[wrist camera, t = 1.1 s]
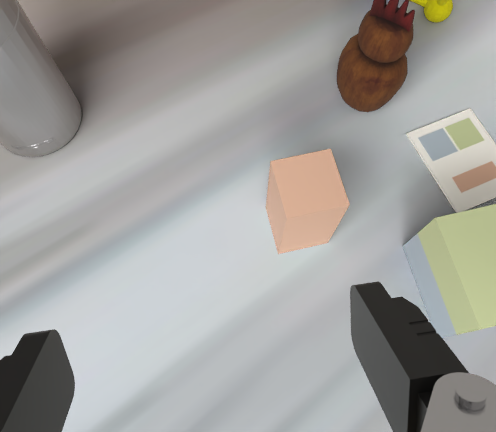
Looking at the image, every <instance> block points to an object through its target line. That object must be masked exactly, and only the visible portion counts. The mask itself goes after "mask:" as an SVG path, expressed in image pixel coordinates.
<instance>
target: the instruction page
mask: <svg viewBox="0 0 496 432" xmlns="http://www.w3.org/2000/svg"><path fill="white" fill-rule="evenodd" d="M406 135H407V136H408V138H409V140H410V141H411V143H412V144H413V146H414V147H415V149H416V151H417V152H418V154H419V155H420V157H421V159H422V160H423V162H424V163H425V165H426V166H427V168H428V170H429V171H430V173H431V174H432V176H433V177H434V179H435V181H436V182H437V184H438V185H439V187H440V189H441V190H442V192H443V193H444V195H445V196H446V198H447V200H448V201H449V203H450V204H451V206H452V207H453V209H454V211H455V212H456V213H459V212H463V211H466V210H468V209H471V208H473V207H475V206H478V205H480V204H482V203H485V202H487V201H489V200H492V199H494V198H496V144H495V142H494V141H493V139H492V138H491V137H490V135H489V134H488V132H487V131H486V130H485V128H484V127H483V125H482V124H481V122H480V121H479V120H478V118H477V117H476V115H475V114H474V113H473V111H472V110H471V108H470V109H467V110H465V111H462V112H459V113H457V114H454V115H452V116H449V117H447V118H444V119H442V120H439V121H437V122H434V123H432V124H429V125H427V126H424V127H421V128H419V129H416V130H414V131H411V132H409V133H407V134H406Z"/></svg>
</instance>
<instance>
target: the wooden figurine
mask: <svg viewBox="0 0 496 432" xmlns="http://www.w3.org/2000/svg"><path fill="white" fill-rule="evenodd" d="M398 3H399V0H390V1H389V2H388V4H387V5H386V0H374V1H373V5H372V8H371V10H370V11H368V12H367V14H366V15H365V17H364V19H363V20H362V22H361V25H360V27H359V33H358V34H357V35H355V36H353V37H352V38H350V40H349V41H348V43H347V44H346V46H345V48H344V49H343V51H342V53H341V56H340V58H339V63H338V70H337V85H338V88H339V91H340V93H341V96H342V98H343V99H344V101H345V102H346V103H347V104H348V105H349V106H351V107H352V108H354V109H356V110H358V111H363V112H370V111H374V110H377V109H379V108H380V107H382V106H383V105H384V104H386V103H387V102H388V101H389V100H390V99H391V98H392V97H393V96H394V95H395V94H396V92H397V91H398V90H399V89H400V88H401V86H402V84H403V83H404V81H405V78H406V76H407V57H406V56H405V53H406V51H407V50H408V48H409V46H410V45H411V42H412V40H413V24H412V23H413V19H414V14H415V11H414V10H412V11H410V12H409V13H406V11H407V7H408V3H409V0H405V1H404V3H403V4H402V5H401V7H400V8H398Z"/></svg>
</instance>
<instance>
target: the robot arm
mask: <svg viewBox="0 0 496 432" xmlns="http://www.w3.org/2000/svg"><path fill="white" fill-rule="evenodd" d="M81 115H82V113H81V106H80V104H79V102H78V100H77V98H76V96H75V95H74V93H73V91H72V90H71V88H70V86H69V85H68V83H67V81H66V80H65V78H64V76H63V75H62V73H61V71H60V70H59V68H58V66H57V65H56V63H55V62H54V60H53V58H52V57H51V55H50V53H49V52H48V50H47V48H46V47H45V45H44V43H43V42H42V40H41V39H40V37H39V35H38V34H37V32H36V30H35V29H34V27H33V25H32V24H31V22H30V20H29V19H28V17H27V16H26V14H25V12H24V11H23V9H22V7H21V6H20V4H19V2H18V1H17V0H0V143H1V144H2V145H3V146H4V147H5V148H6V149H7V150H9V151H11V152H13V153H14V154H17V155H21V156H27V157H36V156H43V155H47V154H50V153H52V152H54V151H56V150H58V149H60V148H62V147H63V146H64V145H66V144H67V143H68V142H69V141H70V140H71V139H72V138H73V137H74V135H75V133H76V132H77V130H78V128H79V125H80V123H81ZM350 300H351V335H352V341H353V345H354V349H355V352H356V354H357V356H358V358H359V360H360V363H361V365H362V367H363V369H364V371H365V373H366V375H367V377H368V379H369V382H370V384H371V386H372V388H373V390H374V392H375V394H376V396H377V398H378V401H379V403H380V405H381V407H382V409H383V411H384V413H385V415H386V417H387V420H388V422H389V424H390V426H391V428H392V430H393V432H496V385H495V384H493V383H492V382H490V381H489V380H487V379H485V378H483V377H480V376H477V375H474V374H470V373H468V371H467V370H466V369H465V367H464V366H463V365H462V363H461V362H460V361H459V360H458V358H457V357H456V356H455V354H454V353H453V352H452V350H451V349H450V348H449V347H448V345H447V344H446V343H445V341H444V340H443V339H442V337H441V336H440V335H439V334H438V333H436V330H435V328H434V327H433V326H432V325H431V323H430V322H428V319H427V318H426V317H425V315H424V314H423V313H422V312H421V310H420V309H419V308H418V307H417V306H416V305H414V304H413V303H411V302H409V301H408V300H406V299H405V298H403V297H397V298H391V297H390V296H389V294H388V293H387V291H386V290H385V288H384V287H383V286H382V284H381V283H380V282H372V283H366V284H359V285H352V286H351V291H350ZM74 389H75V382H74V375H73V371H72V368H71V366H70V363H69V360H68V357H67V354H66V351H65V349H64V346H63V343H62V340H61V337H60V335H59V333H58V332H57V331H56V330H47V331H41V332H34V333H28V334H24V335H23V336H22V338H21V340H20V341H19V343H18V345H17V347H16V348H15V350H14V352H13V354H12V355H10V356H5V357H4V358H2V359H1V360H0V432H62V429H63V426H64V423H65V420H66V417H67V414H68V411H69V408H70V405H71V402H72V399H73V396H74Z"/></svg>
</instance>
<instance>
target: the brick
mask: <svg viewBox="0 0 496 432" xmlns="http://www.w3.org/2000/svg"><path fill="white" fill-rule="evenodd" d="M349 205H350V204H349V201H348V198H347V195H346V192H345V189H344V186H343V183H342V180H341V177H340V174H339V171H338V168H337V165H336V163H335V160H334V157H333V154H332V151H331V149H326V150H322V151H317V152H312V153H307V154H303V155H298V156H293V157H288V158H284V159H279V160H274V161H271V162H270V172H269V182H268V191H267V201H266V210H267V213H268V217H269V221H270V225H271V228H272V232H273V236H274V240H275V243H276V247H277V251H278V254H281V253H285V252H290V251H294V250H298V249H303V248H307V247H312V246H316V245H320V244H325V243H328V242H329V240H330V238H331V236H332V235H333V233H334V231H335V229H336V228H337V226H338V224H339V223H340V221H341V219H342V217H343V216H344V214H345V212H346V210H347V209H348V207H349Z"/></svg>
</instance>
